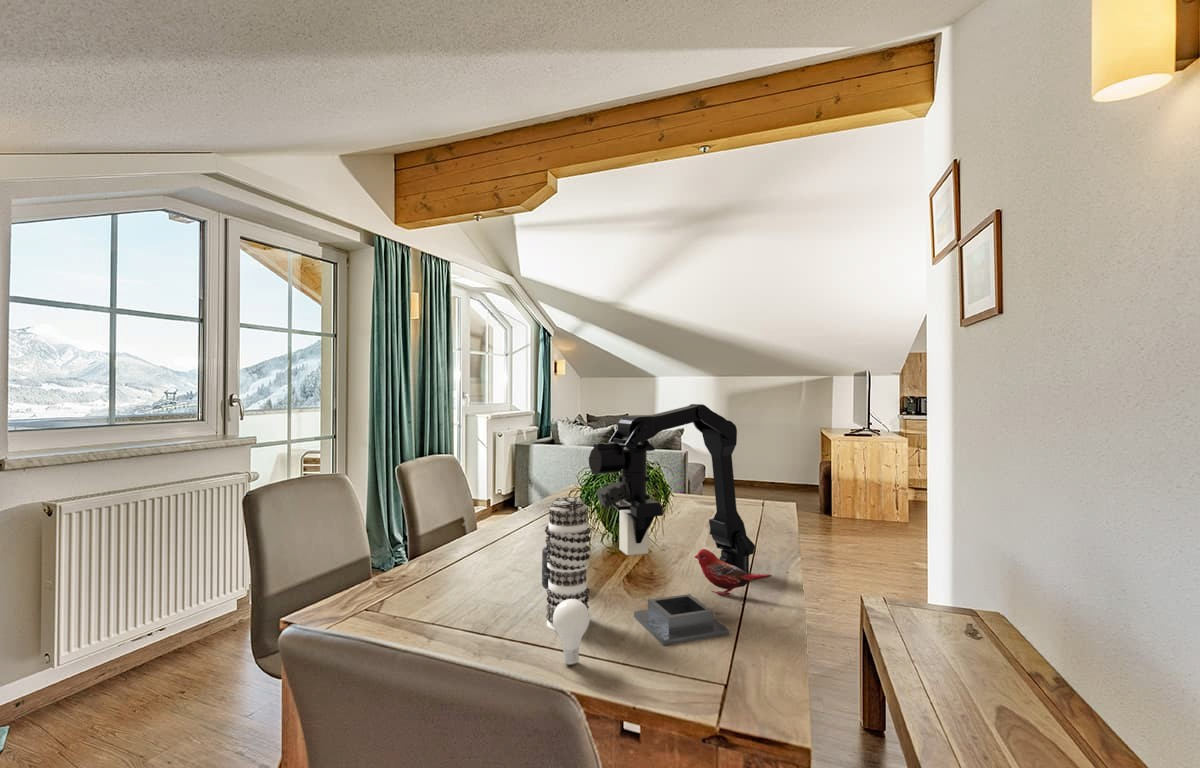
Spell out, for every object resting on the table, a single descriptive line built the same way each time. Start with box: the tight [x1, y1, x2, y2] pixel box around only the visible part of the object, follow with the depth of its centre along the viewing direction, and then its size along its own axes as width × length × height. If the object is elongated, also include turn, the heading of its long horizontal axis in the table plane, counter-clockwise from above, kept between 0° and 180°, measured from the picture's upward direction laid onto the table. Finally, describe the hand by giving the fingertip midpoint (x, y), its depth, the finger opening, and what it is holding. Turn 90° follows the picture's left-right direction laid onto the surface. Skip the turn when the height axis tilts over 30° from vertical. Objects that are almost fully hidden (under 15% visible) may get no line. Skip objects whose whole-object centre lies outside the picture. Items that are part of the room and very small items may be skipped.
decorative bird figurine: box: [694, 548, 773, 597], centre depth 127 cm, size 3×18×10 cm, turn 64°
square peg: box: [618, 509, 649, 556], centre depth 127 cm, size 5×5×9 cm
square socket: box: [633, 593, 730, 646], centre depth 112 cm, size 14×14×4 cm
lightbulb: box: [553, 599, 591, 666], centre depth 96 cm, size 6×6×11 cm
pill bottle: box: [541, 542, 549, 589], centre depth 134 cm, size 6×6×11 cm
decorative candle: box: [544, 496, 592, 633], centre depth 113 cm, size 9×9×25 cm
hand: (633, 540), depth 127 cm, fingers closed on square peg, 5 cm apart
